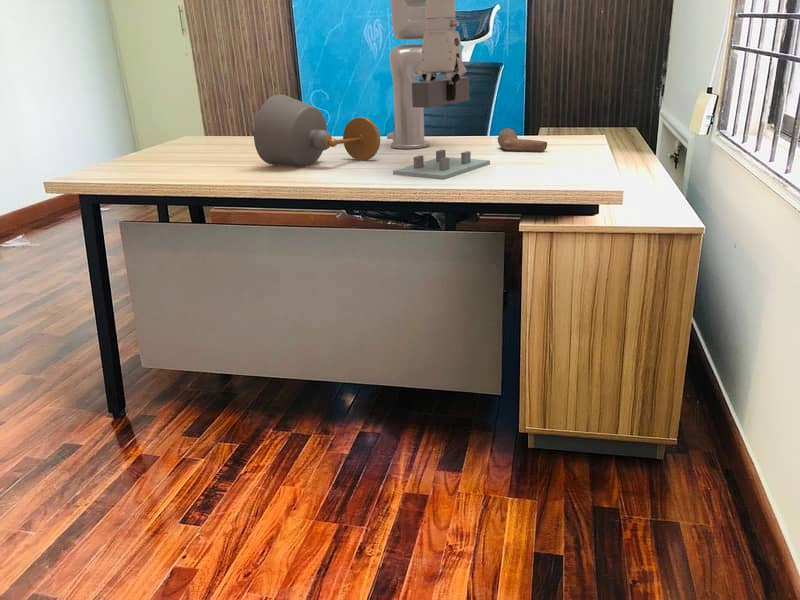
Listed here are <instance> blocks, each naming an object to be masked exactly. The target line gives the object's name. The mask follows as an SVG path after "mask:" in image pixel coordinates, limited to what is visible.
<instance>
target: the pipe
mask: <svg viewBox="0 0 800 600" xmlns="http://www.w3.org/2000/svg"><path fill="white" fill-rule="evenodd" d="M497 143H498V145H499V147H500V148H501V149H502V150H504V151H508V152H524V153H525V152H526V153H527V152H528V153H544V152H543V151H545V150H546V149H547V148H548V142H547V141H543V140H537V139H526V138H518V135H517V133H516V131H515V130H514V129H513V128H511V127H510V128H508V127H507V128H503V129H502V130H500V132H499V133H498V137H497Z"/></svg>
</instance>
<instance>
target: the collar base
mask: <svg viewBox="0 0 800 600" xmlns="http://www.w3.org/2000/svg"><path fill="white" fill-rule="evenodd" d="M460 155H461V157H452V156H446V149H438V150H436V151H435V158H432V159H429V160H426V161H424V155H417V156H414V157H413V164H412V165H409V166H405V167H401V168H397V169H394V170H392V175H395V174H397V175H398V176H407V177H414V178H415V177H417V178H427V179H437V180H446V179H448V178H453V177H455V176H459V175H461V174H464V173H467V172H470V171H473V170H476V169H480V168H482V167H486V166H488V165H490V164H491V160H489V159H474V158H471V156H472V155H471V151H463V152H461V153H460ZM397 175H396V176H397Z"/></svg>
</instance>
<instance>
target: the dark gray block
mask: <svg viewBox="0 0 800 600" xmlns="http://www.w3.org/2000/svg"><path fill="white" fill-rule="evenodd" d="M447 85H448V80H447V77H445V78H438V79H434V80H429V81H425V80H423V81H417V82H414V83H412V107H420V108H425V109H426V108H427V109H428V108H429V109H431V108H435V107H440V106H446V105H449V104H450V105H451V104H456V103H462V102H466V101H470V76H465V77H464V76H461V78H460V79H459V81H458V83H457V84H456V96H455V100H451V101H447Z"/></svg>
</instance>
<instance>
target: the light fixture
mask: <svg viewBox="0 0 800 600" xmlns="http://www.w3.org/2000/svg"><path fill="white" fill-rule="evenodd" d="M253 141H254V146H255V149H256V153H257V154H258V156H259V158H260V159H261V160H262V161H263V162H265V163H266V164H268V165H271V164H272V166H283V165H284V166H285V167H296V166H297V168H298V167H299V168H306V166H308V167H311V166H312V165H314V164H315V163H316V162H317V161H318V160H319V159H320V157H321V156H322V154H323V152H324V151H326V150H328V149H329V148H335V147H336V146H337V145H342V144H343V147H344V149H345V151H346V153H348V155H349V156H350V157H351V158H352V159H354V160H356V161H360V160H364V161H368V160H370V159H372V158H374V157H375V156H376V154H377V153H378V152H379V150H380V145H381V135H380V131H379V128H378V127H377V124H376V123H374V122H373V120H372V119H370V118H367V117H364V116H363V117H362V116H361V117H355V118H353V119H351V120H350V121H348V122H347V124H346V126H345V127H344V130H343V134H342V138H341V139H336V138H334V137H332V134H331V133H330V132H329V131H328V127H327V122H326V119H325V116H324V113H322V111H321V110H320V109H319V108H317V107H316V106H314V105H311V104H309V103H306V102H303V101H301V100H299V99H295V98H293V97H291V96H288V95H286V94H280V93H279V94H274V95H272V96H269V98H267V100H265V101H264V102H263V104H262V105H261V107H260V108H259V111H258V113H257V114H256V118H255V121H254V127H253ZM310 165H311V166H310Z"/></svg>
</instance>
